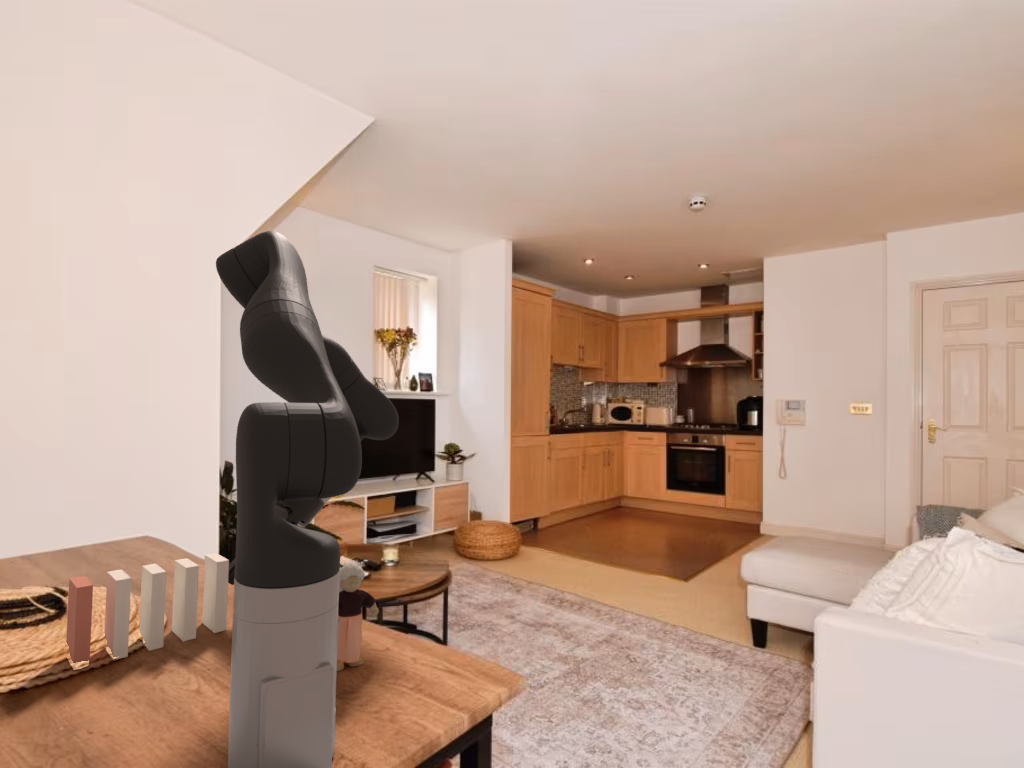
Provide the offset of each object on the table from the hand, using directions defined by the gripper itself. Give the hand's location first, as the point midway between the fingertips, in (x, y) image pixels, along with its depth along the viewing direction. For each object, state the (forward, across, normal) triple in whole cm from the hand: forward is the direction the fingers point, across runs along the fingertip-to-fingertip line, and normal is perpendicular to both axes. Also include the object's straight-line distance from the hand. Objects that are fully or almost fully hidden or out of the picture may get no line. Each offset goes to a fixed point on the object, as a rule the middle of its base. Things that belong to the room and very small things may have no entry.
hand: (226, 580), depth 83 cm
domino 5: (+6, 0, -3) cm, 6 cm away
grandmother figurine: (0, -24, -9) cm, 25 cm away
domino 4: (+8, 0, -1) cm, 8 cm away
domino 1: (+17, 0, +8) cm, 19 cm away
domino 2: (+14, 0, +5) cm, 15 cm away
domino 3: (+11, 0, +2) cm, 11 cm away
